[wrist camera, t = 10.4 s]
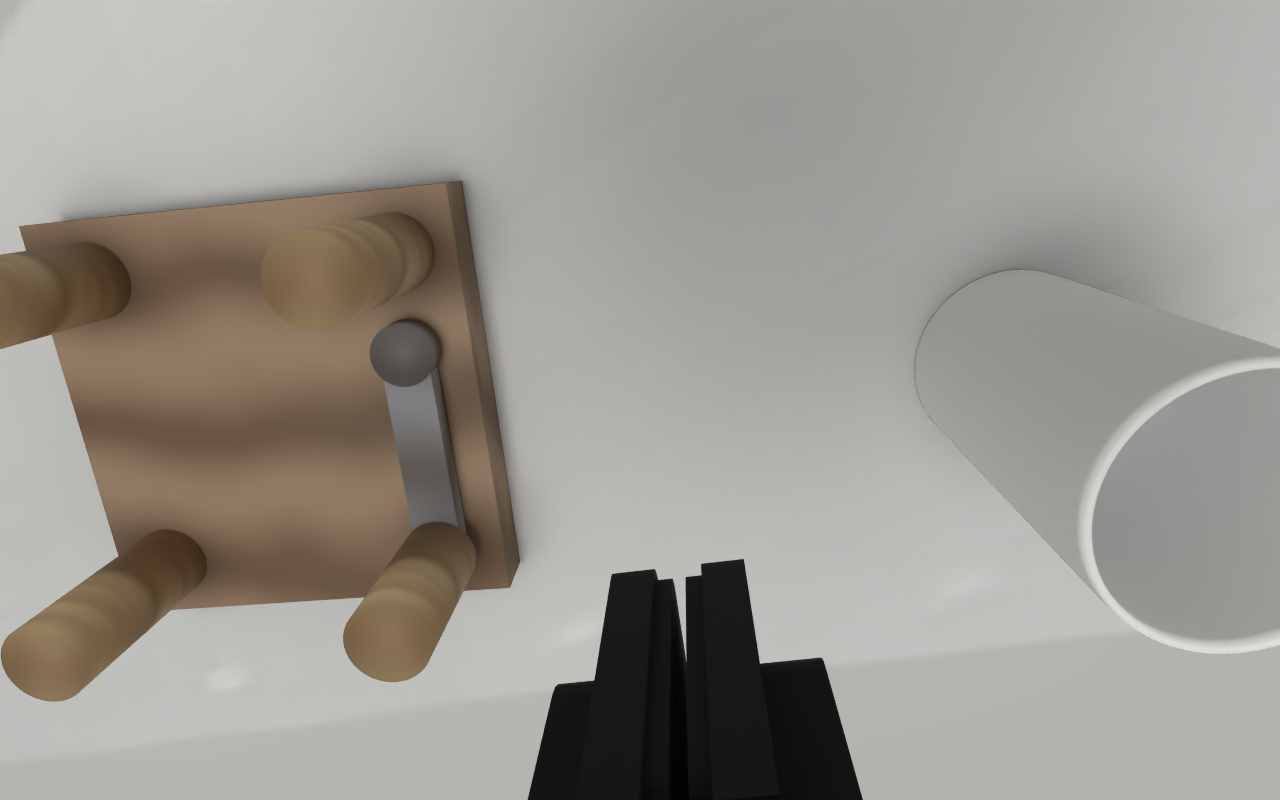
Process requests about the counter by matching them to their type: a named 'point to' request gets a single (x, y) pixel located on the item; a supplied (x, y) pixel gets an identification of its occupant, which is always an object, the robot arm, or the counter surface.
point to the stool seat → (250, 404)
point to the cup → (1122, 447)
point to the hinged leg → (414, 517)
